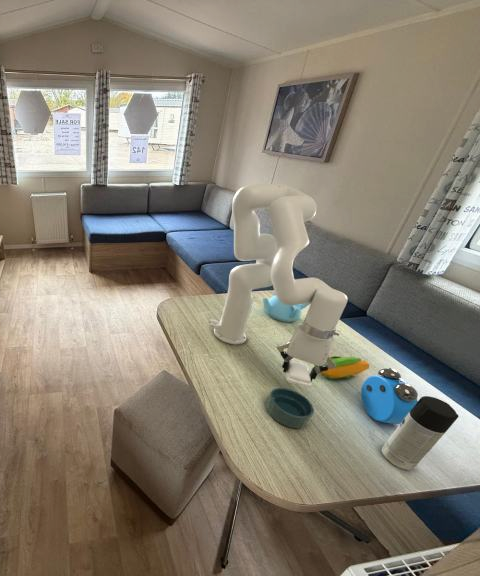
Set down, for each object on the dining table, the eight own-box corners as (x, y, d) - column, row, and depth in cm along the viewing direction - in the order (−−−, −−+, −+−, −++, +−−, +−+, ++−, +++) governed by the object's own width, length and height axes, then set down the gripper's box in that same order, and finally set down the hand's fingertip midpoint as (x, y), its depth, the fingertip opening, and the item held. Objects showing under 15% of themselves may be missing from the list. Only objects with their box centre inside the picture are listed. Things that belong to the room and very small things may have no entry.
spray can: (406, 451, 83) (447, 399, 74) (420, 475, 78) (467, 421, 68) (376, 443, 85) (413, 391, 76) (388, 466, 79) (429, 413, 70)
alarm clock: (403, 435, 88) (431, 397, 81) (379, 431, 88) (405, 394, 81) (374, 399, 99) (397, 364, 92) (353, 396, 100) (374, 361, 93)
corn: (316, 353, 107) (363, 347, 110) (307, 369, 111) (353, 362, 114) (334, 369, 100) (383, 362, 104) (324, 385, 105) (372, 378, 108)
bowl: (263, 417, 92) (267, 405, 90) (268, 393, 100) (273, 382, 98) (306, 436, 86) (312, 424, 84) (308, 410, 95) (314, 398, 92)
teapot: (299, 330, 132) (308, 307, 127) (257, 315, 142) (263, 293, 137) (306, 315, 143) (314, 294, 138) (266, 302, 153) (273, 282, 148)
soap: (283, 364, 104) (286, 357, 103) (306, 370, 102) (309, 363, 100) (286, 381, 97) (289, 374, 95) (311, 388, 94) (314, 381, 93)
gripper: (352, 333, 89) (329, 379, 97) (285, 313, 98) (269, 357, 106) (354, 346, 84) (329, 394, 92) (282, 324, 92) (265, 370, 100)
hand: (297, 374), depth 99 cm, fingers closed on soap, 6 cm apart
